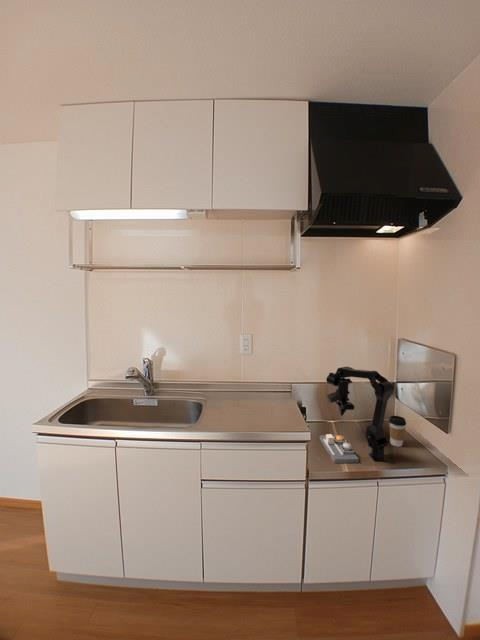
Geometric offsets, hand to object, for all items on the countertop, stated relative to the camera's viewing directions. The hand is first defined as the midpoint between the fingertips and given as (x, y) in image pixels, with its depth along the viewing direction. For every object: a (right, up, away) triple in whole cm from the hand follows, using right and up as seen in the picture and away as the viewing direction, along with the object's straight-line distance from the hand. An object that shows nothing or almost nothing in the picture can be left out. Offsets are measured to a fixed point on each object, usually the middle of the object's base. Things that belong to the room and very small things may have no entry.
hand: (341, 415), depth 172 cm
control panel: (-6, -15, -12) cm, 20 cm away
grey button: (-3, -11, -17) cm, 21 cm away
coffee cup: (+28, -14, -6) cm, 32 cm away
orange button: (-3, -12, -7) cm, 14 cm away
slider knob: (-9, -12, -8) cm, 17 cm away
